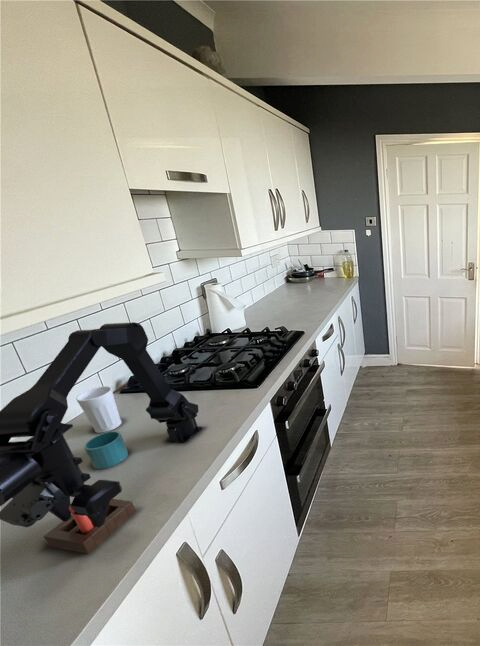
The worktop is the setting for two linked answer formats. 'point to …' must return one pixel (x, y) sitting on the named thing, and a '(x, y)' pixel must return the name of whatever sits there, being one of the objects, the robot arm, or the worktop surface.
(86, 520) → the red rod
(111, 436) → the teal round container
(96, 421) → the cup
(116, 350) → the robot arm
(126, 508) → the stand
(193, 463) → the worktop surface
